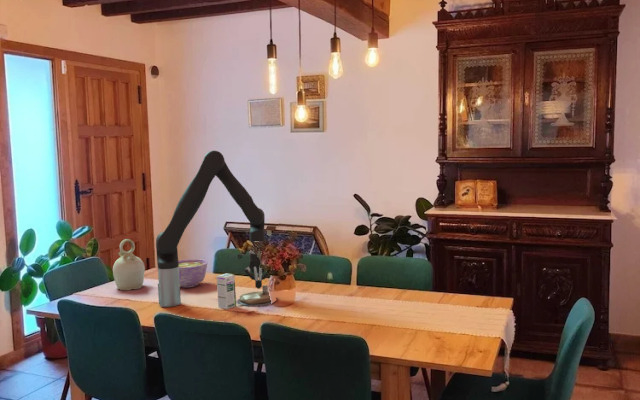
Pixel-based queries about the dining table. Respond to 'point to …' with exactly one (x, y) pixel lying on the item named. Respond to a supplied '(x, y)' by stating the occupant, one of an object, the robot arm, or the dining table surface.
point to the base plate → (252, 304)
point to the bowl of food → (191, 272)
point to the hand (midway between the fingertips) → (258, 288)
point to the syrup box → (226, 291)
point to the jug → (128, 269)
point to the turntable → (256, 297)
